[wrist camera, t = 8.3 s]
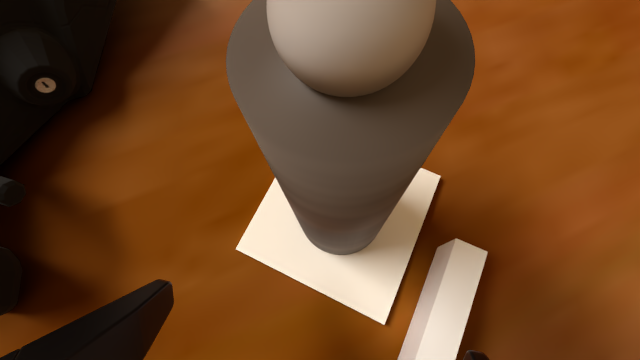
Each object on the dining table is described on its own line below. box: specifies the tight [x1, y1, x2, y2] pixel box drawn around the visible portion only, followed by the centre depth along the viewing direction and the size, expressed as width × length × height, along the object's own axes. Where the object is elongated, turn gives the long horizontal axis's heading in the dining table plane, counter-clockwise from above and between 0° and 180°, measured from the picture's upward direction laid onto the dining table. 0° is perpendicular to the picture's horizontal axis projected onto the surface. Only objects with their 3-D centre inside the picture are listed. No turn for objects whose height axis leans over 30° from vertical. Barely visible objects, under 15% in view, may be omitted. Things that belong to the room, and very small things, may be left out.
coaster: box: [236, 168, 441, 325], centre depth 19 cm, size 9×9×1 cm
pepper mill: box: [226, 0, 475, 255], centre depth 11 cm, size 5×5×15 cm
